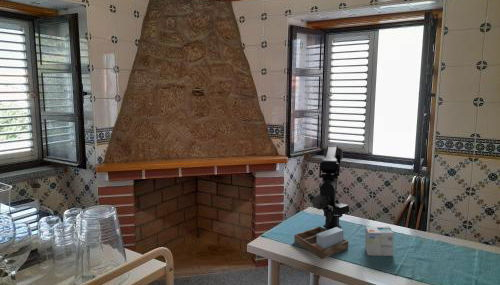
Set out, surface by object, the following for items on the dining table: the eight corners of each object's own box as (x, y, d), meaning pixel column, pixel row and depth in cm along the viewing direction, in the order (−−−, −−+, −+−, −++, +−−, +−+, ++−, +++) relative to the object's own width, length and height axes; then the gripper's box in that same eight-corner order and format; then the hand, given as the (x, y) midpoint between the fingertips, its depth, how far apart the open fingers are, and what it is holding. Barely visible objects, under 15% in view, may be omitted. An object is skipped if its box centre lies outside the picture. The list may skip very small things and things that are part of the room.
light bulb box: (389, 248, 158) (390, 225, 156) (393, 256, 151) (394, 232, 149) (364, 248, 159) (364, 225, 157) (367, 255, 152) (368, 232, 150)
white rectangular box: (336, 243, 162) (336, 226, 161) (343, 246, 159) (343, 230, 157) (316, 250, 156) (316, 233, 155) (322, 254, 153) (323, 237, 151)
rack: (319, 233, 175) (319, 225, 174) (348, 248, 159) (348, 239, 158) (294, 242, 167) (294, 233, 166) (321, 259, 151) (321, 249, 150)
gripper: (300, 186, 157) (300, 219, 161) (330, 198, 142) (330, 234, 145) (319, 181, 163) (319, 213, 166) (350, 192, 147) (349, 227, 151)
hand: (328, 222), depth 157 cm, fingers closed
